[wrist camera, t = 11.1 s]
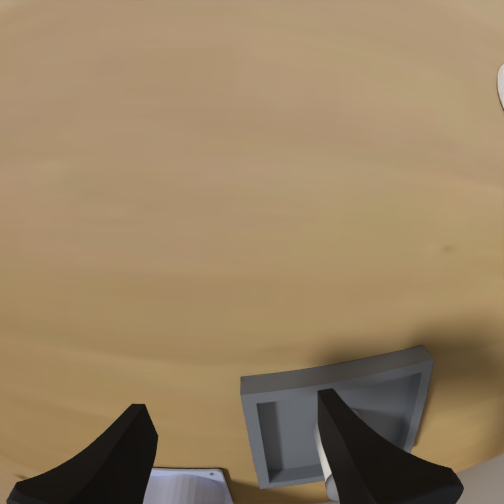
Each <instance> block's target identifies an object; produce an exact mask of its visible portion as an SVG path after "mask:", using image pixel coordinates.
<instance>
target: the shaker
mask: <svg viewBox="0 0 504 504" xmlns="http://www.w3.org/2000/svg"><path fill="white" fill-rule="evenodd" d="M351 410H352V411H353V412H354V413H355V414H356V415H357V416H358V417H359V418H361V419H362V417H361V415H360V413H359V412H358V411H357V410H355V409H353V408H351ZM362 420H363V419H362ZM312 431H313V435H314V439H315V443H316V447H317V450H318V454H319V458H320V462H321V466H322V470H323V473H324V477H325V481H326V482H325V487H326V490H327V494H328V497H329V498H330V499H331V500H333V501H338V502H340V501H339V496H338V492H337V488H336V485H335V482H334V479H333V476H332V473H331V470H330V467H329V464H328V461H327V458H326V456H325V453H324V450H323V447H322V443H321V438H320V434H319V429H318V419H317V421H316V422H315V423H314V425H313V430H312Z"/></svg>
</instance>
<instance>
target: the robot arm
mask: <svg viewBox="0 0 504 504" xmlns="http://www.w3.org/2000/svg"><path fill="white" fill-rule="evenodd" d="M317 398H318V429H319V434H320V438H321V443H322V447H323V450H324V453H325V456H326V458H327V461H328V464H329V467H330V470H331V473H332V476H333V479H334V482H335V485H336V488H337V492H338V496H339V501H340V504H456V502H457V501H458V499H459V498H460V496H461V494H462V492H463V489H464V487H463V485H462V483H461V481H460V480H459V478H458V477H457V475H456V474H455V473H454V472H453V470H452V469H451V468H448V467H444V466H441V465H437V464H434V463H431V462H428V461H426V460H423V459H421V458H418V457H416V456H414V455H412V454H410V453H408V452H406V451H404V450H402V449H400V448H399V447H397V446H395V445H394V444H392V443H391V442H389V441H388V440H386V439H385V438H383V437H382V436H381V435H379V434H378V433H377V432H375V431H374V430H373V429H372V428H371V427H369V426H368V425H367V424H366V423H365V422H364V421H363V420H362V419H361V418H359V417H358V416H357V415H356V414H355V413H354V412H353V411H352V410H351V408H350V407H349V406H348V405H347V404H346V403H345V402H344V401H343V400H342V398H341V397H340V396H339V395H338V393H337V392H336V391H335V390H334V389H333V388H329V389H324V390H318V391H317ZM157 442H158V434H157V432H156V430H155V427H154V425H153V423H152V420H151V418H150V415H149V413H148V411H147V408H146V406H145V404H131V405H130V406H129V407H128V408H127V409H126V410H125V411H124V412H123V413H122V414H121V416H120V417H119V418H118V419H117V420H116V421H115V422H114V423H113V424H112V425H111V426H110V427H109V428H108V429H107V430H106V431H105V432H104V433H103V434H101V435H100V436H99V437H98V438H97V439H96V440H95V441H94V442H92V443H91V444H90V445H89V446H88V447H87V448H85V449H84V450H83V451H81V452H80V453H79V454H77V455H76V456H74V457H73V458H71V459H70V460H68V461H66V462H65V463H63V464H61V465H59V466H58V467H56V468H54V469H52V470H50V471H48V472H45V473H43V474H41V475H38V476H36V477H33V478H30V479H26V480H23V481H20V482H17V483H16V484H15V486H14V488H13V490H12V492H11V493H10V495H9V497H8V499H7V501H6V502H7V504H234V503H233V500H232V497H231V494H230V492H229V489H228V486H227V483H226V480H225V477H224V474H223V472H222V470H220V469H167V468H152V467H153V464H154V460H155V456H156V450H157Z"/></svg>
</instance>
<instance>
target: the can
mask: <svg viewBox="0 0 504 504" xmlns="http://www.w3.org/2000/svg"><path fill="white" fill-rule="evenodd" d="M497 91H498V96H499V100H500V103H501V105H502V108H503V110H504V64H503V65H502V66H501V68H500V70H499V73H498V77H497Z"/></svg>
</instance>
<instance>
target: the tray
mask: <svg viewBox="0 0 504 504" xmlns="http://www.w3.org/2000/svg"><path fill="white" fill-rule="evenodd" d="M433 363H434V358H433V356H432V355H431V354H430V353H429V352H428V351H427V350H426V349H425V347H424V346H423V345H421V346H417V347H413V348H409V349H405V350H401V351H397V352H392V353H388V354H384V355H379V356H374V357H370V358H365V359H360V360H355V361H350V362H344V363H339V364H333V365H327V366H321V367H315V368H309V369H302V370H295V371H288V372H280V373H273V374H264V375H255V376H245V377H241V392H240V395H241V400H242V405H243V411H244V416H245V421H246V426H247V431H248V436H249V441H250V446H251V450H252V455H253V460H254V465H255V469H256V474H257V479H258V483H259V488H260V489H266V488H276V487H285V486H293V485H300V484H307V483H313V482H319V481H324V480H325V477H324V473H323V470H322V466H321V462H320V458H319V454H318V450H317V447H316V443H315V439H314V435H313V431H312V430H313V425H314V423H315V422H316V421H317V419H318V398H317V391H318V390H324V389H329V388H333V389H334V390H335V391H336V392H337V393H338V395H339V396H340V397H341V398H342V400H343V401H344V402H345V403H346V404H347V405H348V406H349V407H350V408H353V409H355V410H357V411H358V412H359V413H360V415H361V417H362V419H363V421H364V422H365V423H366V424H367V425H368V426H369V427H371V428H372V429H373V430H374V431H375V432H377V433H378V434H379V435H381V436H382V437H383V438H385V439H386V440H388V441H389V442H391V443H392V444H394V445H395V446H397V447H399V448H400V449H402V450H404V451H406V452H408V453H411V450H412V447H413V444H414V440H415V437H416V434H417V430H418V427H419V423H420V420H421V416H422V412H423V408H424V404H425V400H426V396H427V392H428V387H429V383H430V378H431V373H432V368H433Z"/></svg>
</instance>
